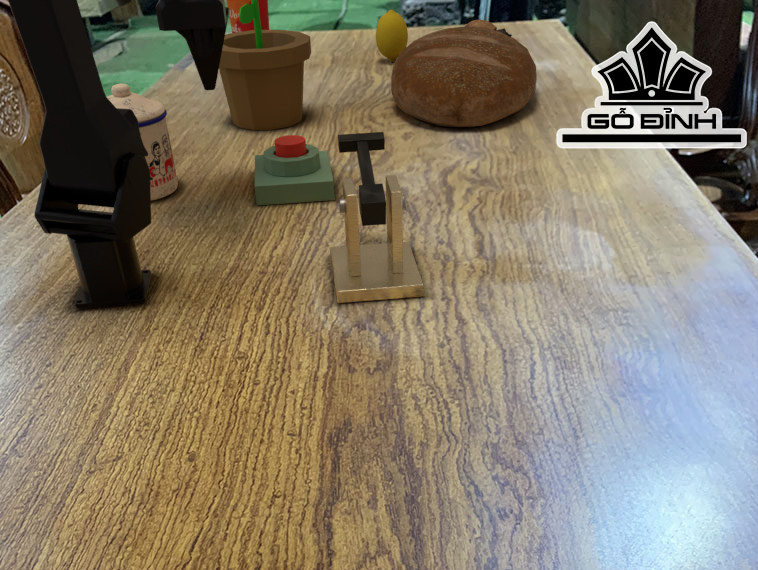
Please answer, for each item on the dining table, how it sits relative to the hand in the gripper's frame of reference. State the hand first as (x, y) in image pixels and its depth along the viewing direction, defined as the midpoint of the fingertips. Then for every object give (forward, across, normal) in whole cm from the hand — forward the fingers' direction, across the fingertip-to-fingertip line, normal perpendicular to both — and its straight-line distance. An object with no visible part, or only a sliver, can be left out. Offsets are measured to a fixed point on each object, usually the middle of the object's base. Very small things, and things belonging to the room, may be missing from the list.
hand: (210, 89), depth 89 cm
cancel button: (+8, -3, +8) cm, 12 cm away
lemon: (+12, -62, +27) cm, 69 cm away
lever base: (+12, +23, +15) cm, 30 cm away
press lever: (+5, +18, +15) cm, 24 cm away
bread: (+12, -38, +35) cm, 53 cm away
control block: (+12, -4, +8) cm, 15 cm away
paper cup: (+12, -63, +3) cm, 64 cm away
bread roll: (+12, -73, +45) cm, 87 cm away
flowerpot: (+12, -32, +5) cm, 35 cm away
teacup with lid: (+12, -7, -10) cm, 17 cm away
